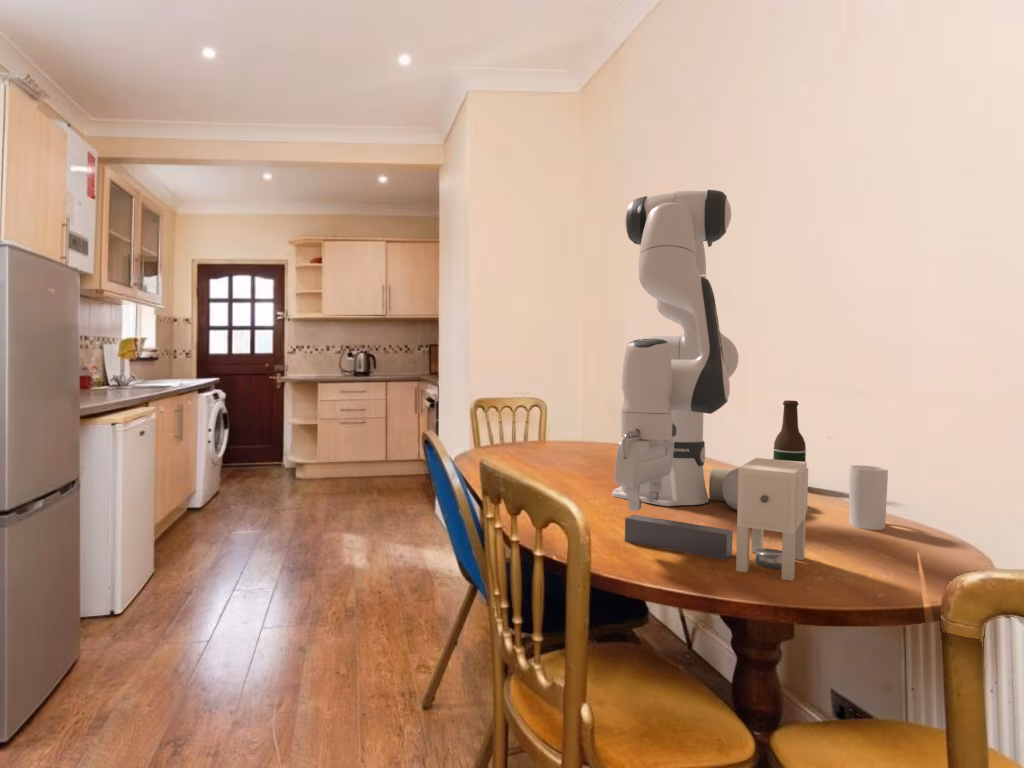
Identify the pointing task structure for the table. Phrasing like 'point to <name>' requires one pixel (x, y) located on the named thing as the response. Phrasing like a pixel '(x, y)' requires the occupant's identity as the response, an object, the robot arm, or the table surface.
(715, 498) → the travel mug
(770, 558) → the steel disc
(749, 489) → the cabinet
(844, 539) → the table surface
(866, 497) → the mug
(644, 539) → the charcoal bar
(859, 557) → the table surface
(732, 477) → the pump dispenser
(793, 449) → the beer bottle
